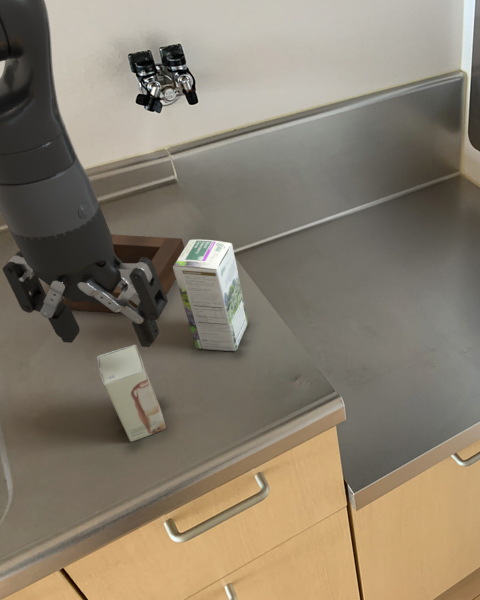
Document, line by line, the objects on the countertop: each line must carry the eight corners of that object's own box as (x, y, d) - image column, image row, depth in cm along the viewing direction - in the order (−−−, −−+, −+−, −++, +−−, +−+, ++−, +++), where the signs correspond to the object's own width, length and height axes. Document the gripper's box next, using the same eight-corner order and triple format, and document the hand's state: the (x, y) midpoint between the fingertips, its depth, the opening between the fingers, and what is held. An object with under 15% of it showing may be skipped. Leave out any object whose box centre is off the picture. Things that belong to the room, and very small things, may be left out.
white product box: (168, 429, 73) (144, 372, 66) (129, 443, 71) (102, 387, 65) (159, 399, 76) (136, 342, 70) (122, 412, 75) (95, 355, 68)
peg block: (65, 309, 89) (54, 288, 86) (107, 253, 99) (99, 233, 96) (154, 315, 88) (147, 294, 85) (187, 258, 98) (182, 238, 95)
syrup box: (210, 320, 87) (186, 237, 77) (250, 323, 87) (231, 240, 77) (195, 349, 83) (169, 265, 73) (238, 352, 82) (217, 268, 73)
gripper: (147, 191, 56) (188, 319, 67) (0, 184, 57) (64, 312, 68) (110, 238, 51) (162, 370, 61) (-51, 230, 52) (27, 361, 63)
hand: (110, 339), depth 65 cm, fingers open, 8 cm apart
